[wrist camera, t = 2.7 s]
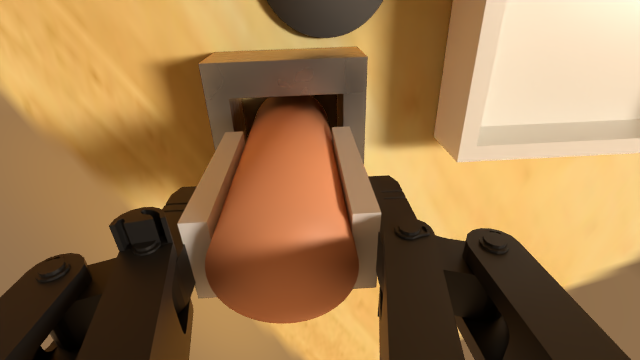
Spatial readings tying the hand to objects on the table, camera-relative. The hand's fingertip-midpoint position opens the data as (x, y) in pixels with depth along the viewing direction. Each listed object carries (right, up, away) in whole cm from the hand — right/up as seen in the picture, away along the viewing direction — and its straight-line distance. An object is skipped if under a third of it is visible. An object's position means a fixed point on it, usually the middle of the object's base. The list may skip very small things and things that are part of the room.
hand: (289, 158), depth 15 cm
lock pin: (0, +2, +3) cm, 4 cm away
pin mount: (0, +2, +4) cm, 4 cm away
